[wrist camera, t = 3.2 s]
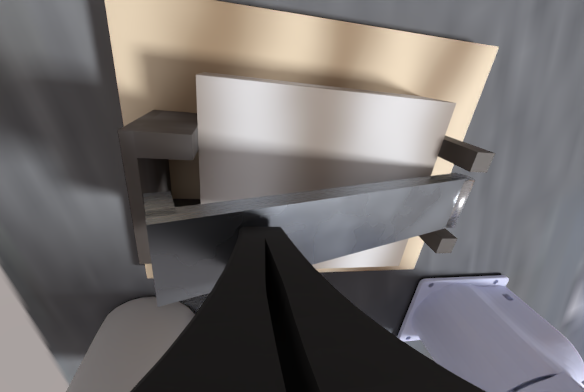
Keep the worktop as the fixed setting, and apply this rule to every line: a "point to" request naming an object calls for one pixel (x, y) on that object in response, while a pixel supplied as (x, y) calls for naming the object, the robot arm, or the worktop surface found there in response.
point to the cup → (129, 345)
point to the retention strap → (294, 225)
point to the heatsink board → (282, 53)
